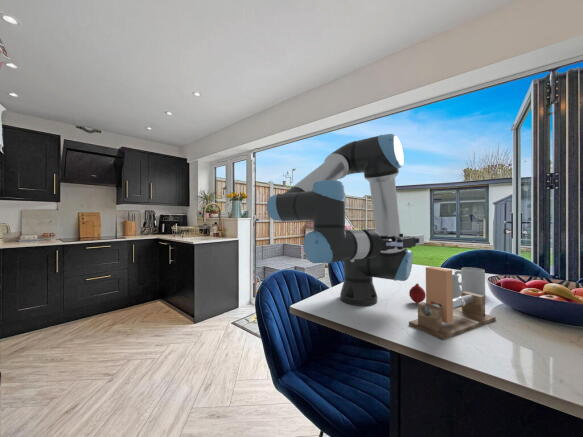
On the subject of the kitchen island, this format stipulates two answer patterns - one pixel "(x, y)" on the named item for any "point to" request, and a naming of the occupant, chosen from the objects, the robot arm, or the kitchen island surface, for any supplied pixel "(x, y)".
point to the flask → (456, 287)
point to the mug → (472, 280)
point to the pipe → (454, 303)
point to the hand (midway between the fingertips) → (421, 239)
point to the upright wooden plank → (440, 290)
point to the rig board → (461, 322)
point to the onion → (417, 293)
